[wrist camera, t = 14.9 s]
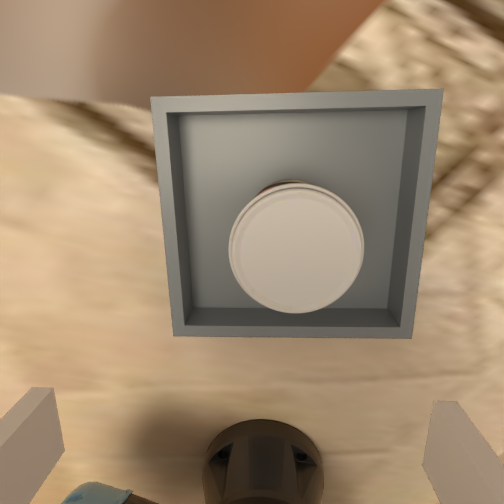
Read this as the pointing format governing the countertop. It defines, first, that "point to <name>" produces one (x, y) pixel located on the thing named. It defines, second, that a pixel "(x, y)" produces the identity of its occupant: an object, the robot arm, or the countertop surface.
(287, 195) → the coffee cup
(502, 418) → the countertop surface
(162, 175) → the walled box
